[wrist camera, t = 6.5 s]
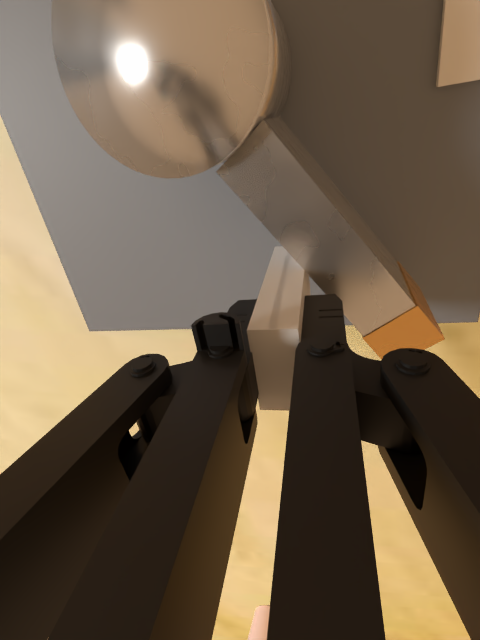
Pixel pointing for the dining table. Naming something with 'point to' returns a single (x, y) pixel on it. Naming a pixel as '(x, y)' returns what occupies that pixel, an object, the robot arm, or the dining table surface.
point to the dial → (230, 137)
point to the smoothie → (260, 623)
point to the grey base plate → (312, 131)
